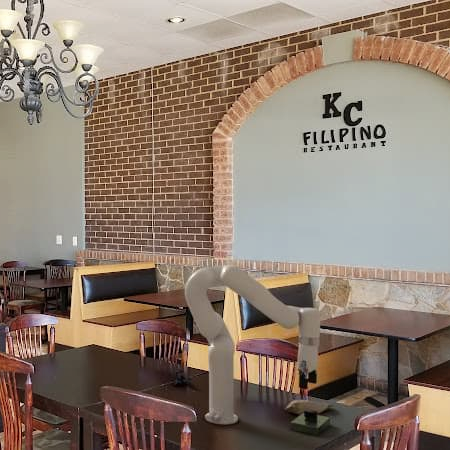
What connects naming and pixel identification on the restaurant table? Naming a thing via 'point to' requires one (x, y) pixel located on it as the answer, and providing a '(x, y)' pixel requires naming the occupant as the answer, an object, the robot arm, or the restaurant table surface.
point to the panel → (310, 425)
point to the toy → (180, 378)
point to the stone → (306, 406)
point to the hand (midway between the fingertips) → (307, 385)
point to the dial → (310, 414)
